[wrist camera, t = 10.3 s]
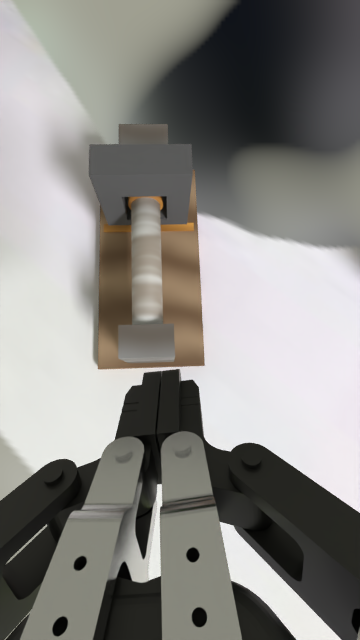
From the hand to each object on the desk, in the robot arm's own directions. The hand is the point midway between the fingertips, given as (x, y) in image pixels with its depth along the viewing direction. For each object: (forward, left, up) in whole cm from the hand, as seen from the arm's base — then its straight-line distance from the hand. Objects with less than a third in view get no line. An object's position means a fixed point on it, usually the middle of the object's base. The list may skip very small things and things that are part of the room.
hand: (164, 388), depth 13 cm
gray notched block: (-6, -19, -19) cm, 28 cm away
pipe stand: (-4, -14, -23) cm, 27 cm away
